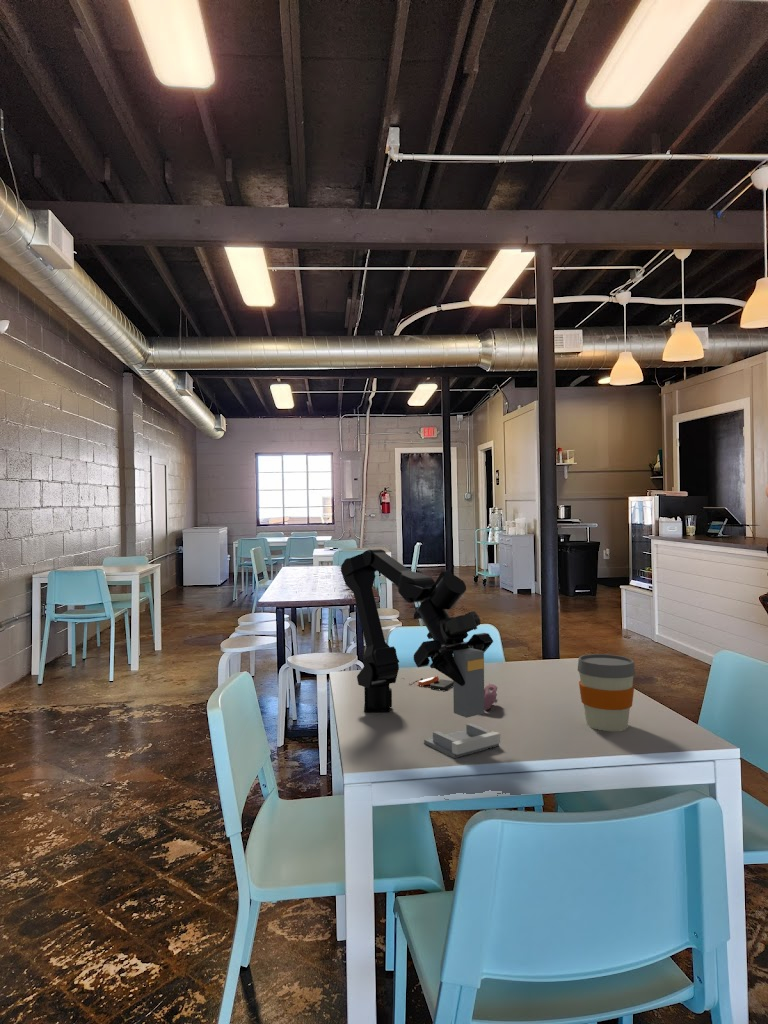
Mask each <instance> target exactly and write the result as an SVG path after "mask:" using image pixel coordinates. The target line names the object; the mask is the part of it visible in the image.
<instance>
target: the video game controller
mask: <svg viewBox="0 0 768 1024" xmlns="http://www.w3.org/2000/svg"><path fill="white" fill-rule="evenodd" d="M497 691H498V686H497V685H495V684H491V683H489V684H487V685H486V686H484V712H485V711H490V708H491V707H492V706H493V705H494V704H497V703H498V699H497V696H498V694H497Z"/></svg>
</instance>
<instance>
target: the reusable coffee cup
mask: <svg viewBox="0 0 768 1024" xmlns="http://www.w3.org/2000/svg"><path fill="white" fill-rule="evenodd" d="M634 661H635V660H633V659H632V658H629V657H626V656H622V655H617V654H616V655H615V654H606V653H605V654H604V653H593V654H583V655H580V656H578V663H577V672H579V681H578V685H579V693H580V700H581V703H582V704H583V707H584V709H583V710H584V715H585V722H586V725H587V727H589V728H591V729H594V730H597V729H598V730H599V731H602V730H603V731H604V732H621V731H620V730H623V731H625V730H627V729H628V726H629V718H630V712H631V711H630V709H631V708H632V707H633V700H634V693H635V685H634V676H635V675H636V669H635V662H634ZM626 728H627V729H626ZM624 729H625V730H624Z"/></svg>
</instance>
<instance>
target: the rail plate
mask: <svg viewBox="0 0 768 1024" xmlns="http://www.w3.org/2000/svg"><path fill="white" fill-rule="evenodd" d="M465 725H466V726H465V727H466V729H462V730H459V731H454V732H450V733H447V734H444V733H443V732H441V731H439V730H436V731H432V737H429V738H426V739H424V740H423V744H424V745H426V746H428V747H430V748H433V749H435V750H437V751H439V752H441V753H443V754H445V755H447V756H449V757H451V758H453V759H456V758H459V757H463V755H464V756H467V754H468V755H471V754H474V752H475V753H478V752H477V751H479V752H482V751H485V749H486V750H489V749H488V748H490V749H492V747H493V748H497V747H499V746H500V744H501V733H500V732H497V731H491V730H489V729H486V728H484V727H481V726H479V725H477V724H474V723H471V722H470V723H466V724H465ZM496 746H497V747H496ZM481 750H482V751H481ZM470 753H471V754H470Z"/></svg>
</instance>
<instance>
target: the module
mask: <svg viewBox="0 0 768 1024" xmlns="http://www.w3.org/2000/svg"><path fill="white" fill-rule="evenodd" d="M453 659H454V661H455V663H456V665H457V667H458V669H459V671H460V673H461V675H462V677H463V679H464V681H465V684H464V685H463V686H460V685H459V684H458V683H456V682H455V681H453V680H452V681H453V688H452V689H453V714H456V715H458V716H460V717H463V718H471V717H475V716H479V715H483V714H485V711H484V689H485V652H484V651H481V650H477V649H473V648H468V649H462V650H456V651H453Z"/></svg>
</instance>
